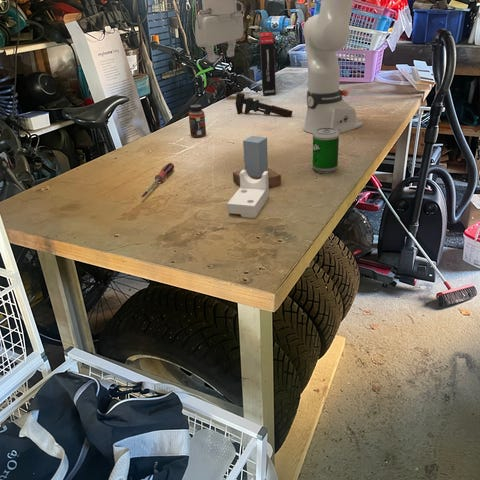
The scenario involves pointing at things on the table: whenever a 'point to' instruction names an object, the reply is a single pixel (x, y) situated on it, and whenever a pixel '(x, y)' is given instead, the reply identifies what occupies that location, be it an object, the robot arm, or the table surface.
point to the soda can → (325, 150)
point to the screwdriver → (161, 176)
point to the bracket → (249, 195)
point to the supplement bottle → (197, 121)
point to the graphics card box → (267, 63)
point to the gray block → (255, 156)
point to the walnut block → (272, 177)
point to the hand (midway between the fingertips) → (222, 59)
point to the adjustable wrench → (256, 105)
